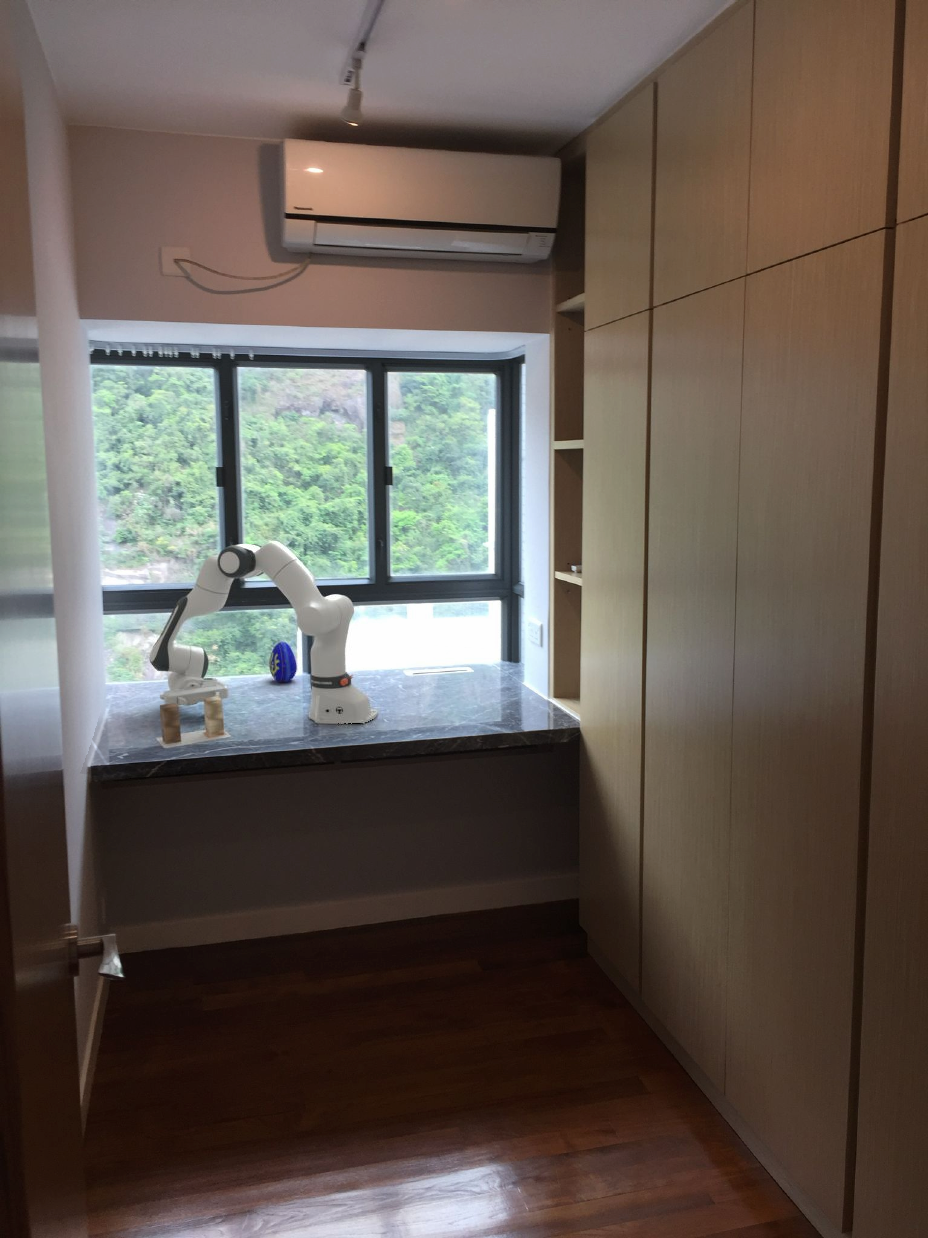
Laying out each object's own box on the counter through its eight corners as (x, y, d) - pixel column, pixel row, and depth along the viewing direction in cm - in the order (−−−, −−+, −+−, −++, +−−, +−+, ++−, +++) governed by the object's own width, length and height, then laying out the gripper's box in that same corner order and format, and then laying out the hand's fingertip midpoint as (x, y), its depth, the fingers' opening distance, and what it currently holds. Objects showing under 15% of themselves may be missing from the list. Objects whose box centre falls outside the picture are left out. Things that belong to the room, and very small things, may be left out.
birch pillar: (220, 730, 292) (217, 696, 290) (224, 734, 289) (222, 699, 287) (205, 732, 290) (203, 698, 288) (209, 736, 286) (207, 701, 284)
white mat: (220, 728, 296) (220, 726, 296) (231, 738, 287) (231, 736, 287) (155, 740, 286) (155, 738, 286) (164, 750, 277) (164, 748, 277)
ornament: (266, 680, 353) (263, 641, 350) (288, 676, 358) (286, 637, 356) (279, 686, 344) (277, 646, 341) (302, 682, 350) (300, 642, 347)
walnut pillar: (177, 737, 286) (174, 702, 284) (181, 741, 282) (178, 706, 280) (162, 740, 284) (159, 705, 281) (166, 744, 280) (163, 708, 278)
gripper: (157, 686, 303) (168, 696, 292) (220, 677, 314) (233, 686, 302) (158, 705, 305) (169, 715, 293) (221, 695, 315) (234, 705, 303)
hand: (202, 700), depth 298 cm, fingers open, 8 cm apart
